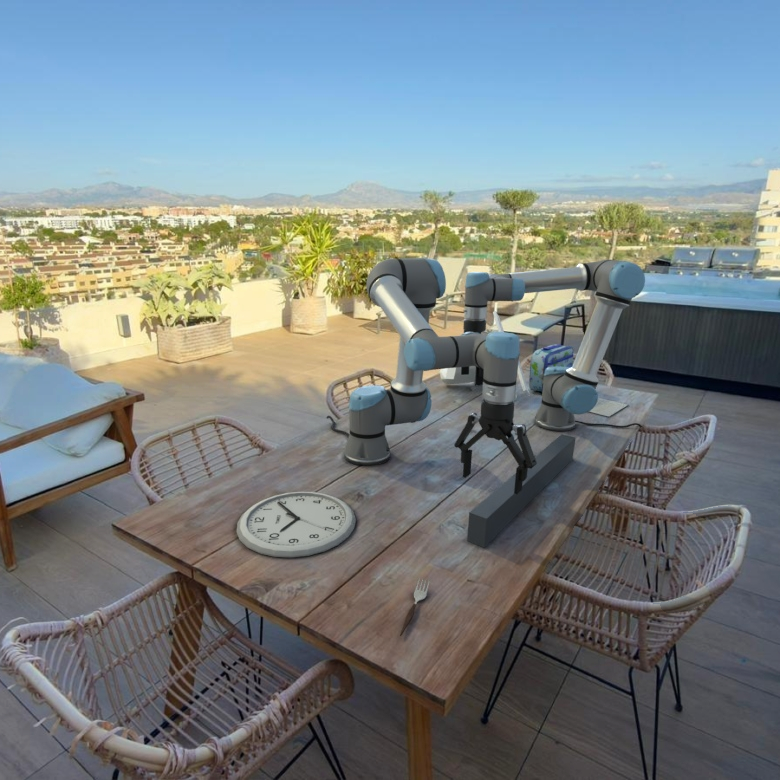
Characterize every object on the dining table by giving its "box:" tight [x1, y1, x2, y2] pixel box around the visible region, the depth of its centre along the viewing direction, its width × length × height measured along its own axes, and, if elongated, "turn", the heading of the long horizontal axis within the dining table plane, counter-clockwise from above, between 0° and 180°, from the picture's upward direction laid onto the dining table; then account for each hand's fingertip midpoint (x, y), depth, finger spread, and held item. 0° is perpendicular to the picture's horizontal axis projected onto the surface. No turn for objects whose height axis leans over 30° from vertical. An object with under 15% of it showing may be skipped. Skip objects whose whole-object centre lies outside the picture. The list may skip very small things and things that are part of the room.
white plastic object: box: [438, 310, 531, 400], centre depth 245 cm, size 37×45×31 cm
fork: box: [399, 577, 431, 637], centre depth 104 cm, size 3×16×2 cm, turn 160°
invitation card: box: [588, 397, 629, 418], centre depth 226 cm, size 21×1×15 cm
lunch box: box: [528, 344, 574, 393], centre depth 247 cm, size 26×11×21 cm, turn 134°
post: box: [466, 433, 576, 548], centre depth 150 cm, size 64×5×8 cm, turn 143°
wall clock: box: [236, 491, 357, 558], centre depth 134 cm, size 30×2×30 cm
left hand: (491, 483), depth 127 cm, fingers open, 13 cm apart
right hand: (471, 379), depth 182 cm, fingers open, 13 cm apart
